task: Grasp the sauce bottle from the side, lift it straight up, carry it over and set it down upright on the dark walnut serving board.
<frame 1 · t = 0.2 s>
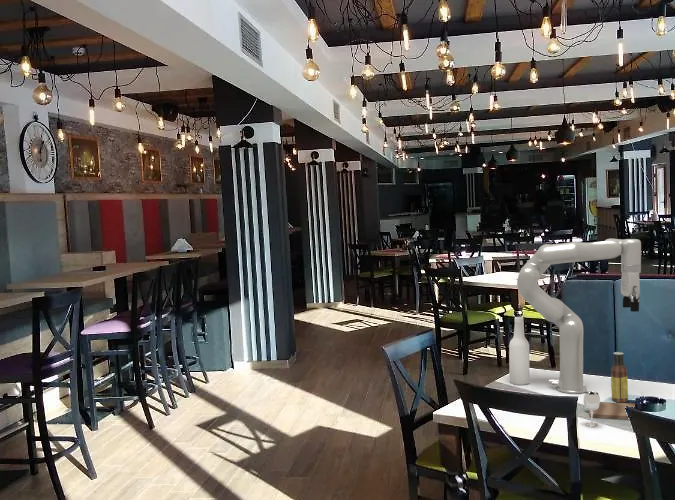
hand: (630, 309, 278), 36 cm above the table, tool pointing down, fingers open, 9 cm apart
alcohol: (519, 383, 302), on the table
walnut board: (616, 412, 258), on the table
sauce bottle: (619, 401, 272), on the table
wineglass: (591, 425, 246), on the table
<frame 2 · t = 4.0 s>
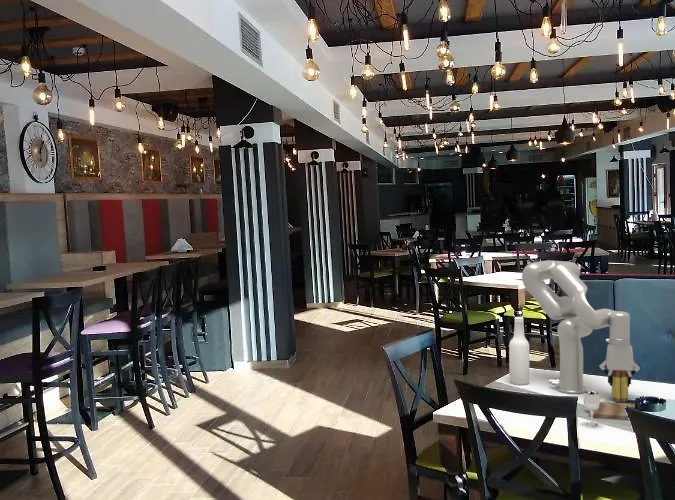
hand: (619, 385, 272), 7 cm above the table, tool pointing down, fingers closed on sauce bottle, 5 cm apart
sauce bottle: (619, 400, 272), on the table, touching gripper
everything else where it was.
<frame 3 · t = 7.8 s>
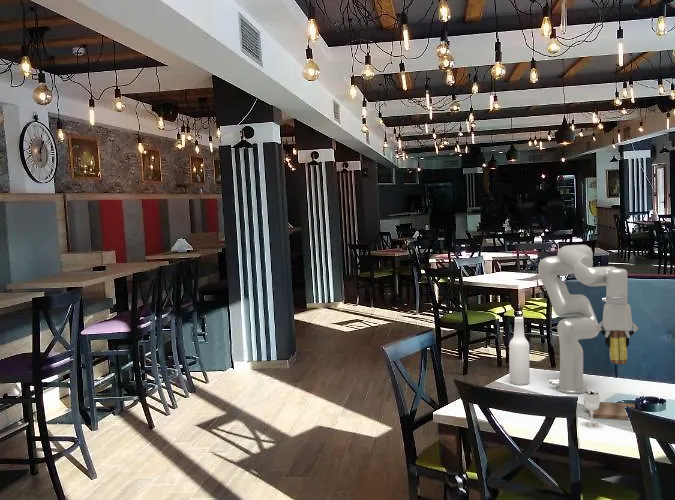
hand: (617, 346, 257), 26 cm above the table, tool pointing down, fingers closed on sauce bottle, 5 cm apart
sauce bottle: (618, 363, 257), point 19 cm above the table, touching gripper
everything else where it was.
when the fingers open (9 cm above the table, at t = 11.6 s): sauce bottle moves 1 cm, resting on walnut board.
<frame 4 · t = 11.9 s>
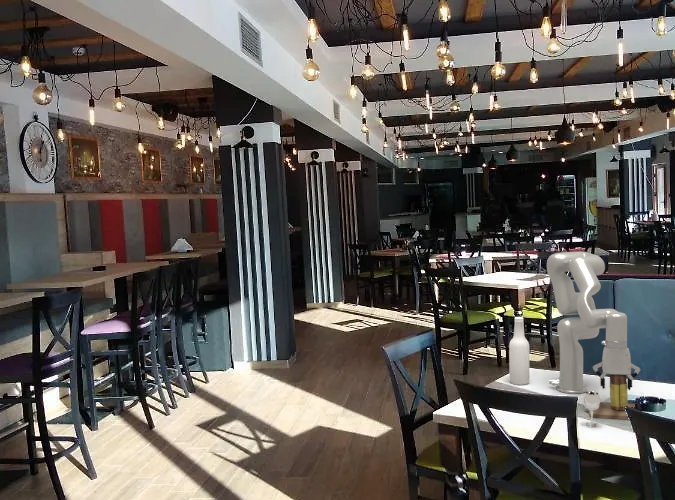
hand: (616, 388, 257), 10 cm above the table, tool pointing down, fingers open, 8 cm apart
sauce bottle: (618, 409, 258), point 1 cm above the table, touching walnut board
everything else where it was.
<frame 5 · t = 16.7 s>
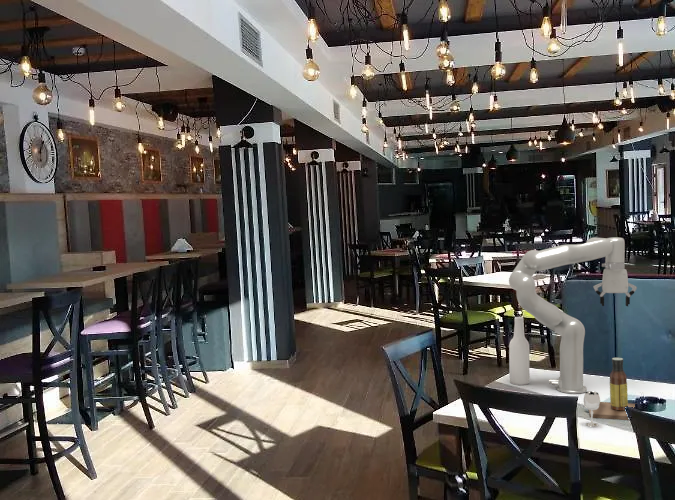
hand: (614, 305, 287), 36 cm above the table, tool pointing down, fingers open, 9 cm apart
nothing on the table moved.
at the end: sauce bottle inside the target area on the walnut board (1.0 cm from its centre), point 1.3 cm above the walnut board's base; sauce bottle tilted 0°; the gripper is holding nothing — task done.
